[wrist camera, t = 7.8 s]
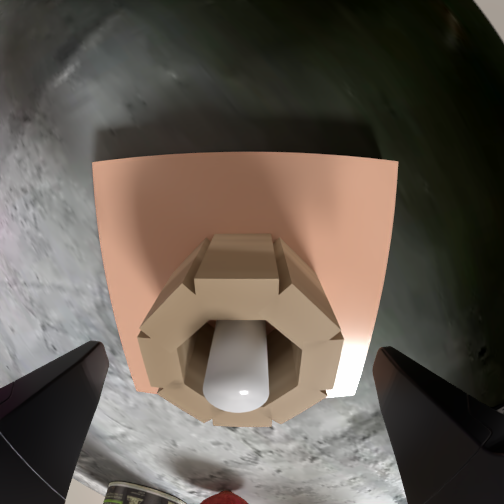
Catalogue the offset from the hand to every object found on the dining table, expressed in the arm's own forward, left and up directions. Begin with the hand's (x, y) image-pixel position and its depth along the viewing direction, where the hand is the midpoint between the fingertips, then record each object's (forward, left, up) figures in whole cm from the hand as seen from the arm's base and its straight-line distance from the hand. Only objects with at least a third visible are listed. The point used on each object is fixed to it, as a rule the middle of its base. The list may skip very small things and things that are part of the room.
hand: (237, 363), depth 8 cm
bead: (0, 0, -4) cm, 4 cm away
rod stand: (0, 0, -5) cm, 5 cm away
